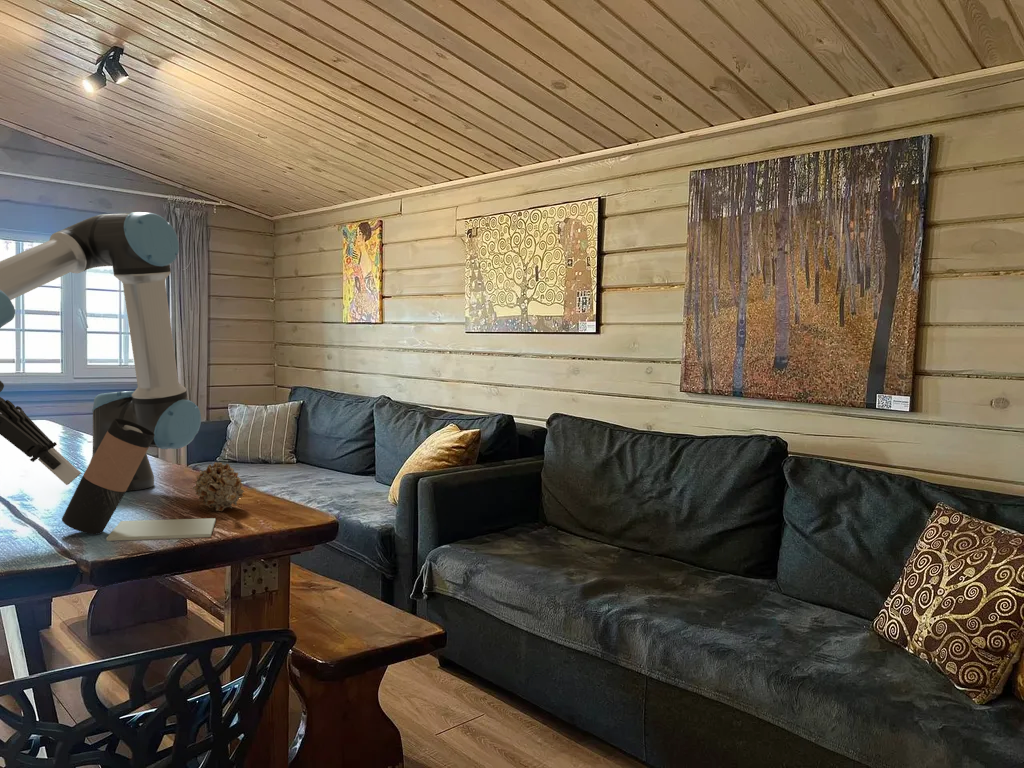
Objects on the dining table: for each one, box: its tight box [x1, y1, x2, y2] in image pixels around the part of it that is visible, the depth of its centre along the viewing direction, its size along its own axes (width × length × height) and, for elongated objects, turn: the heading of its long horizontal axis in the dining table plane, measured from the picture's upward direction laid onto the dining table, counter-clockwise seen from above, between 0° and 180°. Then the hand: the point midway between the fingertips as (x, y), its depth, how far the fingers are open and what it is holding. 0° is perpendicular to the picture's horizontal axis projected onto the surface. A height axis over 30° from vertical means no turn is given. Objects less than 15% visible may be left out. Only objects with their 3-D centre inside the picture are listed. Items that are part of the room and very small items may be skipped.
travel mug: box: [61, 418, 155, 535], centre depth 134 cm, size 8×8×20 cm
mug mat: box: [106, 517, 217, 542], centre depth 138 cm, size 17×13×1 cm
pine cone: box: [192, 461, 245, 512], centre depth 155 cm, size 22×10×10 cm, turn 37°
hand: (73, 479), depth 132 cm, fingers closed
